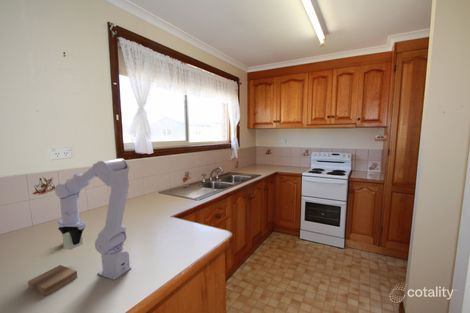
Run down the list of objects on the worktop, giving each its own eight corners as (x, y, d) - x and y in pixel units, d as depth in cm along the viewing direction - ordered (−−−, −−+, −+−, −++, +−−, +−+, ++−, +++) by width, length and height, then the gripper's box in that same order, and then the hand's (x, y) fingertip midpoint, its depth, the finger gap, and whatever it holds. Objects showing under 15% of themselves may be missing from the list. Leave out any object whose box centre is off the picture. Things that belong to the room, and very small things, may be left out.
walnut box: (77, 278, 82) (76, 270, 81) (46, 297, 73) (45, 288, 72) (60, 272, 86) (60, 264, 85) (28, 289, 76) (28, 281, 76)
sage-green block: (82, 244, 92) (81, 230, 92) (69, 250, 88) (68, 235, 87) (76, 242, 94) (75, 229, 93) (63, 248, 89) (62, 234, 89)
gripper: (48, 212, 88) (51, 244, 90) (70, 217, 83) (73, 251, 84) (67, 206, 95) (70, 236, 96) (89, 211, 89) (91, 242, 91)
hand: (73, 242), depth 91 cm, fingers closed on sage-green block, 4 cm apart
